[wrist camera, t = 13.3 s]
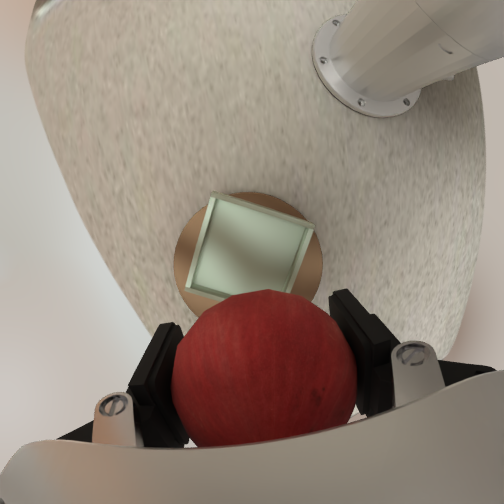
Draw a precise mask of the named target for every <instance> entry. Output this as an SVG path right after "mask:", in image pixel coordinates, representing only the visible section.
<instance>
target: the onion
mask: <svg viewBox="0 0 504 504" xmlns="http://www.w3.org/2000/svg"><path fill="white" fill-rule="evenodd" d="M170 388H171V394H172V401H173V404H174V406H175V408H176V411H177V413H178V415H179V417H180V420H181V422H182V424H183V426H184V428H185V430H186V432H187V434H188V436H189V438H190V439H191V440H192V441H193V442H194V443H195V445H196V446H197V447H214V446H227V445H238V444H247V443H255V442H262V441H269V440H275V439H281V438H287V437H292V436H297V435H302V434H307V433H311V432H316V431H320V430H324V429H328V428H332V427H336V426H340V425H344V424H347V422H348V421H349V419H350V417H351V414H352V412H353V410H354V407H355V403H356V398H357V365H356V358H355V355H354V353H353V351H352V349H351V347H350V346H349V344H348V342H347V340H346V338H345V336H344V335H343V333H342V331H341V330H340V328H339V326H338V324H337V323H336V321H335V320H334V319H333V318H332V317H330V316H329V315H328V314H327V313H326V312H325V311H323V310H322V309H320V308H319V307H317V306H316V305H314V304H313V303H311V302H310V301H308V300H307V299H305V298H304V297H302V296H300V295H295V294H290V293H285V292H280V291H276V290H271V289H265V290H259V291H254V292H248V293H242V294H236V295H232V296H230V297H228V298H227V299H225V300H223V301H221V302H220V303H218V304H216V305H214V306H212V307H211V308H209V309H207V310H205V311H204V312H203V313H202V314H201V316H200V317H199V318H198V320H197V321H196V322H195V323H194V325H193V326H192V327H191V329H190V330H189V331H188V332H187V334H186V335H185V336H184V338H183V339H182V340H181V341H180V343H179V344H178V345H177V350H176V356H175V361H174V367H173V374H172V380H171V387H170Z"/></svg>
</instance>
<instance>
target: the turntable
mask: <svg viewBox="0 0 504 504" xmlns="http://www.w3.org/2000/svg"><path fill="white" fill-rule="evenodd" d="M314 228H315V225H314V224H313V223H311V222H309V221H307V220H306V219H305V218H304V217H303V216H302V215H301V213H300V212H298V211H297V210H296V209H295V208H293V207H292V206H291V205H289V204H287V203H285V202H284V201H282V200H280V199H278V198H275V197H273V196H270V195H266V194H262V193H255V192H240V193H234V194H230V195H226V194H223V193H219V192H216V191H213V192H212V194H211V197H210V200H209V204H208V205H206V206H205V207H203V208H202V209H201V210H200V211H198V212H197V213H196V214H195V215H194V216H193V217H192V218H191V219H190V221H189V222H188V223H187V225H186V226H185V228H184V229H183V231H182V233H181V235H180V237H179V239H178V242H177V245H176V249H175V254H174V275H175V280H176V284H177V287H178V289H179V292H180V294H181V296H182V298H183V300H184V302H185V303H186V304H187V306H188V307H189V308H190V310H191V311H192V312H193V313H194V314H195V315H196V316H197V317H200V316H201V314H202V313H203V312H204V311H205V310H207V309H209V308H211V307H212V306H214V305H216V304H218V303H220V302H221V301H223V300H225V299H227V298H228V297H230V296H232V295H236V294H242V293H248V292H254V291H259V290H265V289H271V290H276V291H280V292H285V293H290V294H295V295H300V296H302V297H304V298H305V299H307V300H308V301H310V302H311V301H312V300H313V298H314V296H315V294H316V292H317V290H318V287H319V284H320V280H321V275H322V265H323V262H322V252H321V248H320V244H319V241H318V238H317V236H316V234H315V232H314Z"/></svg>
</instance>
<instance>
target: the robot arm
mask: <svg viewBox="0 0 504 504" xmlns="http://www.w3.org/2000/svg"><path fill="white" fill-rule="evenodd" d="M312 57H313V62H314V66H315V68H316V71H317V73H318V75H319V77H320V79H321V80H322V82H323V83H324V85H325V86H326V87H327V88H328V90H329V91H330V92H331V93H332V94H333V95H334V96H335V97H336V98H337V99H339V100H340V101H341V102H342V103H343V104H345V105H347V106H348V107H350V108H352V109H353V110H355V111H358V112H360V113H362V114H364V115H369V116H372V117H381V118H386V117H393V116H396V115H399V114H402V113H404V112H406V111H408V110H409V109H410V108H411V107H412V106H413V105H414V104H415V103H416V101H417V100H418V98H419V96H420V92H421V89H422V88H423V87H425V86H428V85H430V84H433V83H435V82H437V81H440V80H449V81H451V80H453V79H454V76H455V74H457V73H460V72H462V71H465V70H468V69H470V68H473V67H476V66H478V65H481V64H484V63H487V62H489V61H493V60H496V59H499V58H502V57H504V0H357V1H356V3H355V4H354V6H353V7H352V8H351V10H350V11H349V13H348V14H343V15H338V16H335V17H333V18H331V19H329V20H327V21H326V22H325V23H324V24H322V26H321V27H320V28H319V30H318V31H317V33H316V35H315V37H314V40H313V45H312ZM321 62H323V63H324V64H322V63H321ZM358 103H360V105H359V104H358ZM329 308H330V317H332V318H333V319H334V320H335V321H336V323H337V324H338V326H339V328H340V330H341V331H342V333H343V335H344V336H345V338H346V340H347V342H348V344H349V346H350V347H351V349H352V351H353V353H354V355H355V358H356V365H357V398H356V403H355V404H356V406H357V408H358V410H359V412H360V414H361V415H364V414H366V416H367V418H364V419H361V420H357V421H354V422H351V423H347V424H344V425H340V426H336V427H332V428H328V429H324V430H320V431H316V432H311V433H307V434H302V435H297V436H292V437H287V438H281V439H275V440H269V441H262V442H255V443H247V444H238V445H227V446H214V447H195V448H184V444H188V442H189V436H188V434H187V432H186V430H185V428H184V426H183V424H182V422H181V420H180V417H179V415H178V413H177V411H176V408H175V406H174V404H173V401H172V394H171V388H170V387H171V380H172V374H173V367H174V361H175V356H176V350H177V345H178V344H179V343H180V341H181V340H182V339H183V338H184V336H183V333H182V330H181V328H180V326H179V325H175V323H174V322H171V323H164V324H160V325H159V327H158V328H157V330H156V332H155V334H154V336H153V338H152V340H151V342H150V343H149V345H148V347H147V349H146V351H145V353H144V355H143V357H142V359H141V361H140V363H139V365H138V366H137V369H136V370H135V372H134V374H133V376H132V378H131V380H130V382H129V384H128V386H129V387H128V389H127V391H126V393H125V392H116V393H112V394H109V395H107V396H105V397H103V398H102V399H101V400H100V401H99V402H98V403H97V405H96V407H95V412H94V420H93V421H91V422H89V423H87V424H85V425H84V426H82V427H80V428H78V429H76V430H74V431H72V432H70V433H68V434H66V435H64V436H62V437H60V438H58V439H56V440H43V441H36V442H32V443H29V444H26V445H24V446H22V447H21V448H20V449H19V450H18V451H17V452H16V453H15V454H14V455H13V456H12V458H11V459H10V460H9V462H8V463H7V465H6V466H5V467H4V469H3V471H2V472H1V474H0V504H504V370H499V371H497V370H495V369H494V368H492V367H488V366H483V365H474V364H465V363H457V362H450V361H442V360H437V357H436V353H435V351H434V349H433V347H432V346H430V345H429V344H427V343H425V342H421V341H407V342H403V343H400V342H399V341H398V339H397V338H396V337H395V336H394V335H393V334H392V333H391V331H390V330H389V329H388V328H387V327H386V326H385V325H384V324H383V322H382V321H381V320H380V319H379V318H378V317H377V316H376V315H375V314H369V313H368V312H367V310H366V309H365V308H364V307H363V306H362V305H361V304H360V302H359V301H358V300H357V299H356V298H355V297H354V296H353V295H352V293H351V292H350V291H349V290H348V289H347V288H346V289H342V290H338V291H334V292H333V295H332V296H329Z"/></svg>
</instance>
